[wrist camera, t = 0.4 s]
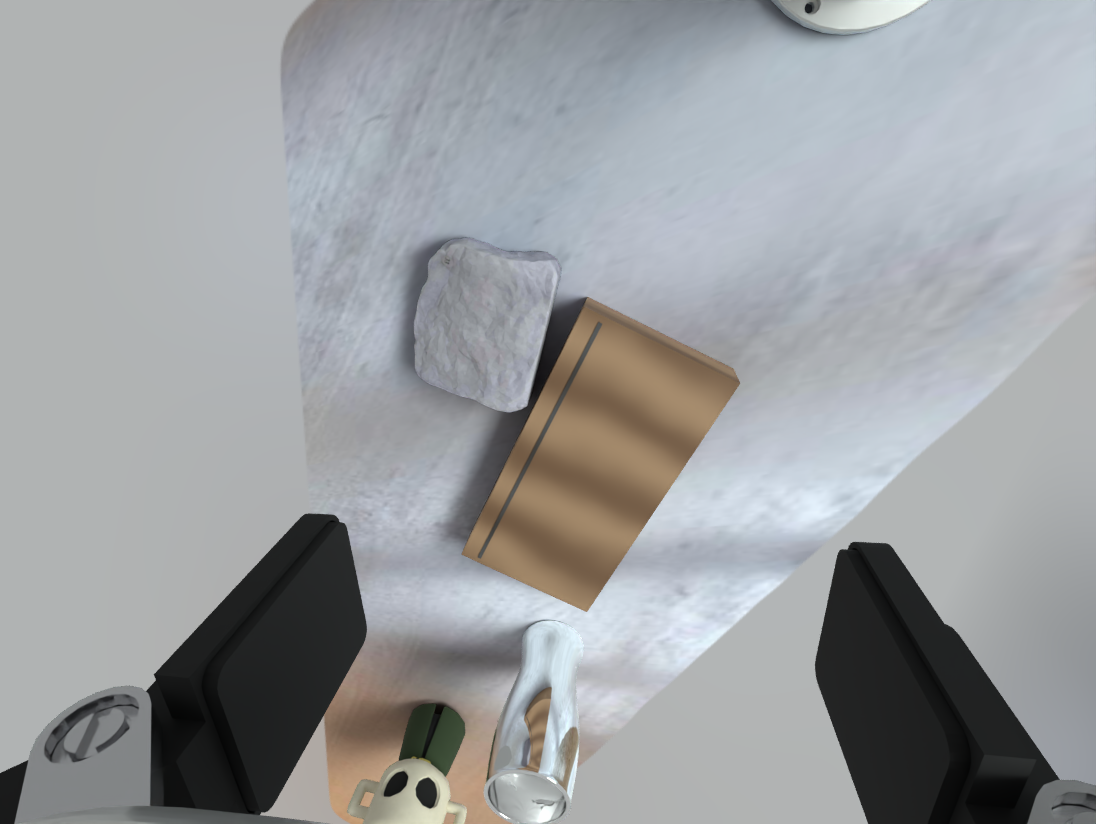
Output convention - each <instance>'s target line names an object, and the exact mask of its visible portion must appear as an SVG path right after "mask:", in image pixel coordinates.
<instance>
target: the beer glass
mask: <svg viewBox="0 0 1096 824" xmlns="http://www.w3.org/2000/svg"><path fill="white" fill-rule="evenodd" d="M583 653H584V643H583V640H582V638H581V636H580V635H579V633H578V632H577V631H576V630H575V629H573V628H572V627H570V626H569V625H567V624H565V623H562V622H558V621H551V620H547V621H540V622H537V623H535V624H533V625H531V626H530V627H529V628H528V629H527V630H526V631H525V633H524V635H523V638H522V658H521V666H520V669H519V673H518V675H517V678H516V680H515V682H514V684H513V687H512V689H511V691H510V693H509V695H508V698H507V700H506V702H505V704H504V707H503V709H502V712H501V715H500V717H499V720H498V723H497V727H496V730H495V734H494V737H493V742H492V747H491V752H490V757H489V763H488V770H487V777H486V783H485V786H484V798H485V800H486V803H487V804H488V806H489V807H490V808H491V810H492V811H493V812H494V813H496V814H497V815H498V816H500V817H501V818H503V819H505V820H506V821H509V822H511V823H513V824H558V823H559V822H561V821H563V820H564V819H565V818H566V817H567V815H568V814H569V812H570V809H571V799H572V793H573V788H574V783H575V777H576V771H577V764H578V756H579V741H580V733H579V714H578V702H577V690H576V678H577V672H578V668H579V665H580V663H581V660H582V657H583Z"/></svg>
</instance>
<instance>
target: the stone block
mask: <svg viewBox="0 0 1096 824" xmlns="http://www.w3.org/2000/svg"><path fill="white" fill-rule="evenodd" d="M561 269H562V268H561V266H560V264H559V262H558V260H557V259H556V258H555V257H554V256H552V255H551V254H549V253H548V252H521V251H513V252H507V251H503V250H500V249H499V248H496V247H494V246H492V245H491V244H489V243H485V242H481V241H477V240H475V239H472V238H467V237H465V238H461V239H453V240H450V241H448V242H446V243H445V244H444V245H443V246H442V247H441V248H440V249H439V250H438V251H437V252H436V253H435V255H434V256H432V257H431V259H430V260H429V263H428V278H427V281H426V283H425V284H424V286H423V287H422V290H421V293H420V296H419V299H418V303H417V311H416V315H415V319H414V337H415V340H416V341H415V345H414V349H415V370H416V373H417V374H418V376H419V377H421V378H422V379H423V380H424V381H425V382H426V383H428V384H430V385H433V386H436V387H439V388H441V389H444V390H446V391H448V392H450V393H453V394H456V395H459V396H461V397H466V398H470V399H473V400H475V401H477V402H479V403H481V404H483V405H485V406H487V407H489V408H492V409H495V410H498V411H504V412H513V411H517V410H521V409H523V408H525V407H527V405H528V403H529V399H530V398H531V395H532V391H533V387H534V383H535V379H536V374H537V370H538V366H539V362H540V358H541V354H542V350H543V346H544V342H545V338H546V333H547V329H548V325H549V321H550V316H551V312H552V308H553V304H554V300H555V297H556V292H557V289H558V285H559V281H560V276H561Z"/></svg>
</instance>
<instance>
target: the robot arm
mask: <svg viewBox="0 0 1096 824" xmlns="http://www.w3.org/2000/svg"><path fill="white" fill-rule="evenodd" d="M771 1H772V2H773V3H774V4H775V5H776V6H777V7H778V8H779V9H780V10H781V11H782V12H783V13H784V14H785V15H786V16H787V17H789V18H791V19H792V20H794V21H796V22H797V23H799V24H800V25H802V26H804V27H806V28H809V29H813V30H816V31H819V32H822V33H828V34H840V35H848V34H856V33H864V32H869V31H872V30H875V29H878V28H881V27H884V26H887V25H890V24H892V23H894V22H896V21H898V20H900V19H902V18H904V17H906V16H908V15H910V14H912V13H913V12H915V11H916V10H918V9H920V8H921V7H923V6H924V5H926V4H927V3H929V2H930V1H931V0H771ZM806 4H811V5H812V12H811V13H806V12H805V9H804V8H805V5H806ZM366 633H367V625H366V619H365V614H364V609H363V605H362V600H361V595H360V590H359V585H358V580H357V575H356V570H355V565H354V560H353V556H352V551H351V546H350V541H349V536H348V531H347V527H346V525H345V524H344V523H342V522H339V519H338V518H337V517H336V516H335V515H328V514H305V515H303V516H302V517H301V518H300V519H299V520H298V521H297V522H296V523H295V524H294V525H293V526H292V528H290V530H289V531H288V532H287V533H286V534H285V535H284V536H283V537H282V538H281V539H280V540H279V542H277V543H276V545H275V546H274V547H273V548H272V549H271V550H270V551H269V552H268V553H267V554H266V555H265V556H264V557H263V558H262V559H261V561H260V562H259V563H258V564H257V565H256V566H255V567H254V568H253V569H252V570H251V571H250V572H249V573H248V574H247V576H246V577H245V578H244V579H243V580H242V581H241V582H240V583H239V584H238V585H237V586H236V587H235V588H234V589H233V590H232V592H231V593H230V594H229V595H228V596H227V597H226V598H225V599H224V600H223V601H222V602H221V603H220V604H219V605H218V607H217V608H216V609H215V610H214V611H213V612H212V613H211V614H210V615H209V616H208V617H207V618H206V619H205V621H204V622H203V623H202V624H201V625H200V626H199V627H198V628H197V629H196V630H195V631H194V632H193V633H192V634H191V635H190V636H189V638H188V639H187V640H186V641H185V642H184V643H183V644H182V645H181V646H180V647H179V648H178V649H177V650H176V651H175V652H174V654H173V655H172V656H171V657H170V658H169V659H168V660H167V661H166V662H165V663H164V664H163V665H162V666H161V668H160V669H159V670H158V671H157V672H156V673H155V674H154V676H155V678H156V681H155V682H154V683H153V684H152V685H151V686H150V688H149V689H148V690H147V691H144V690H143V689H142V688H139V687H134V686H121V687H113V688H110V689H107V690H103V691H100V692H97V693H95V694H92V695H90V696H88V697H86V698H84V699H82V700H80V701H78V702H77V703H75V704H74V705H72V706H70V707H69V708H67V709H66V710H64V711H63V712H62V713H60V714H59V715H58V716H57V717H56V718H55V719H54V720H52V721H51V722H50V723H49V724H48V725H47V726H46V727H45V729H44V730H43V731H42V732H41V734H40V735H39V736H38V738H37V739H36V741H35V743H34V745H33V748H32V750H31V752H30V756H29V760H27V761H25V762H23V763H21V764H19V765H17V766H14V767H12V768H10V769H8V770H6V771H4V772H2V773H0V824H328V823H320V822H311V821H304V820H295V819H288V818H279V817H271V816H261V815H260V814H261V812H267V811H268V810H269V809H270V808H271V807H272V806H273V805H274V803H275V801H276V799H277V798H278V796H279V794H280V792H281V791H282V789H283V787H284V785H285V784H286V782H287V780H288V778H289V776H290V775H291V773H292V771H293V769H294V767H295V766H296V764H297V762H298V760H299V758H300V757H301V755H302V753H303V751H304V750H305V748H306V746H307V744H308V742H309V741H310V739H311V737H312V735H313V733H314V732H315V730H316V728H317V726H318V724H319V723H320V721H321V719H322V717H323V716H324V714H325V712H326V710H327V708H328V707H329V705H330V703H331V701H332V699H333V698H334V696H335V694H336V692H337V690H338V689H339V687H340V685H341V683H342V681H343V680H344V678H345V676H346V674H347V673H348V671H349V669H350V667H351V665H352V664H353V662H354V660H355V658H356V656H357V655H358V653H359V651H360V649H361V647H362V646H363V643H364V641H365V638H366ZM815 671H816V678H817V682H818V685H819V688H820V690H821V694H822V696H823V699H824V702H825V705H826V707H827V710H828V713H829V716H830V719H831V721H832V724H833V727H834V730H835V732H836V735H837V738H838V741H839V744H840V746H841V749H842V752H843V755H844V758H845V760H846V763H847V766H848V769H849V771H850V774H851V777H852V780H853V783H854V785H855V788H856V791H857V794H858V797H859V799H860V802H861V805H862V808H863V810H864V813H865V816H866V819H867V822H868V824H1096V786H1095V785H1092V784H1088V783H1084V782H1081V781H1076V780H1060V779H1059V778H1058V776H1057V775H1056V774H1055V772H1054V771H1053V769H1052V768H1051V766H1050V765H1049V764H1048V762H1047V761H1046V759H1045V758H1044V756H1043V755H1042V754H1041V752H1040V751H1039V749H1038V748H1037V746H1036V745H1035V743H1034V742H1033V741H1032V739H1031V738H1030V736H1029V735H1028V733H1027V732H1026V731H1025V729H1024V728H1023V726H1022V725H1021V723H1020V722H1019V721H1018V719H1017V718H1016V716H1015V715H1014V713H1013V712H1012V710H1011V709H1010V707H1008V705H1007V703H1006V702H1005V700H1004V699H1003V697H1002V696H1001V695H1000V693H999V692H998V690H997V689H996V687H995V686H994V685H993V683H992V682H991V680H990V679H989V677H988V676H987V674H986V673H985V672H984V670H983V669H982V667H981V666H980V665H979V663H978V662H977V660H976V659H975V657H974V656H973V654H972V653H971V651H970V650H969V649H968V647H967V646H966V644H965V643H964V641H963V640H962V639H961V637H960V636H959V635H958V633H957V632H956V631H955V630H954V629H953V628H952V627H950V626H948V625H946V624H944V623H943V621H942V620H941V619H940V617H939V616H938V614H937V613H936V611H935V610H934V608H933V607H932V605H931V604H930V602H929V601H928V599H927V598H926V596H925V595H924V593H923V592H922V590H921V589H920V587H919V586H918V585H917V583H916V582H915V580H914V579H913V577H912V576H911V574H910V573H909V571H908V570H907V568H906V567H905V565H904V564H903V563H902V561H901V560H900V558H899V557H898V555H897V554H896V552H895V551H894V549H893V548H892V547H891V546H890V545H889V544H886V543H866V542H852V543H851V544H850V546H849V548H848V550H843V549H842V550H840V551H839V553H838V555H837V560H836V564H835V569H834V574H833V579H832V584H831V588H830V594H829V599H828V603H827V608H826V613H825V617H824V622H823V627H822V633H821V636H820V641H819V646H818V651H817V656H816V661H815Z"/></svg>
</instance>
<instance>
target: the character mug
mask: <svg viewBox="0 0 1096 824" xmlns="http://www.w3.org/2000/svg"><path fill="white" fill-rule="evenodd" d="M435 708H436V704H423V705H421V706H419V707H417V708H416V709H414V710H413V712H412V714H411V716H410V719H409V721H408V725H407V728H406V732H405V735H404V739H403V744H402V748H401V752H400V756H399V761H397V762H395V763H394V764H392V765H390V766H389V767H388V768H387V769H386V770H385V771H384V773H383V775H382V778H381V780H380V782H375V781H371V780H368V779H364V780H361V781H360V782H359V784H358V785H357V787H356V790H355V792H354V794H353V796H352V799H351V801H350V803H349V805H348V810H347V813H349V814H350V815H351V816H354V817H358V818H361V819H364V821H363V824H443V822H444V819H445V815H446V812H447V813H450V814H454V815H456V816H455V820H454V823H453V824H464V822H465V818H466V814H467V808H466V807H465V806H464V805H462V804H460V803H456V802H452V801H450V798H451V797H450V788H449V782H448V780H447V779H446V775H447V774H448V772H449V770H450V768H451V765H452V763H453V761H454V759H455V757H456V754H457V752H458V750H459V748H460V745H461V743H462V740H463V738H464V736H465V723H464V721H463V720H462V719H461V717H460V716H459V714H458V713H456V712H455V711H453V710H451V709H450V708H448V707H444V709H443V712H442V714H441V715H439V714H434V711H435ZM365 792H370V793H374V797H373V799H372V802H371V804H370V807H365V806H361V805H360V803H361V801H362V798H363V796H364V794H365Z"/></svg>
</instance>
